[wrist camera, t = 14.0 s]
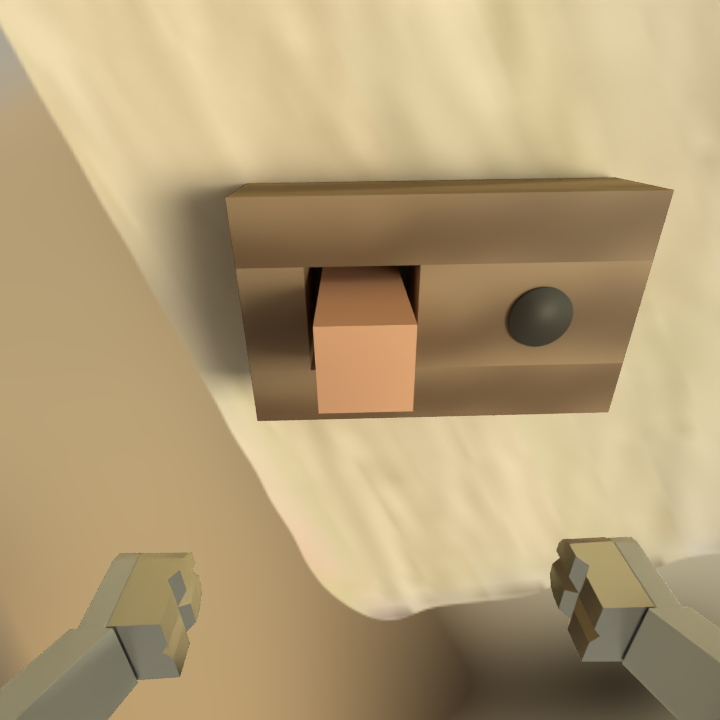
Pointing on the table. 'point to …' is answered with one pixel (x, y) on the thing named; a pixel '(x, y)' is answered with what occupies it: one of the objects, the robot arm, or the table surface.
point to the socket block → (454, 285)
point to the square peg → (364, 341)
